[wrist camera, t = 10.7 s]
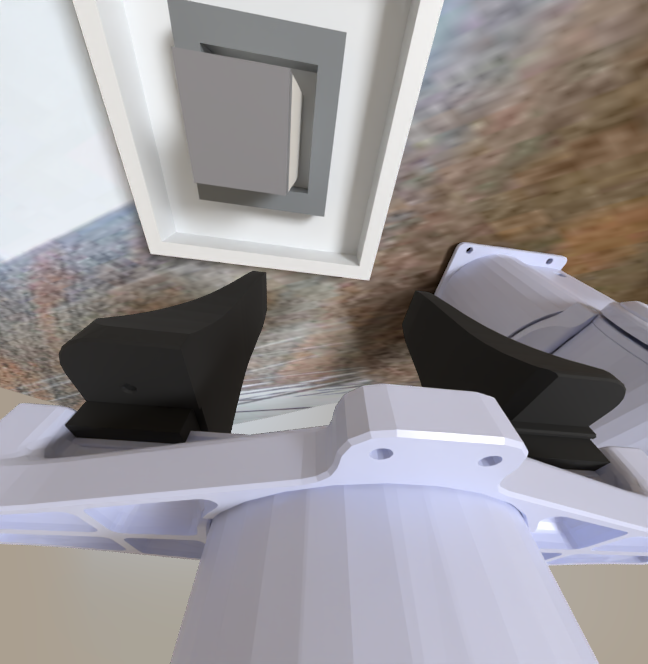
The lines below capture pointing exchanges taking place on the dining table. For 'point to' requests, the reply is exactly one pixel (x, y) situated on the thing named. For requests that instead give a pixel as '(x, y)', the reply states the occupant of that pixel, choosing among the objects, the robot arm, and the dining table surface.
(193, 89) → the connector plug
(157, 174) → the inlet box
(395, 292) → the dining table surface
